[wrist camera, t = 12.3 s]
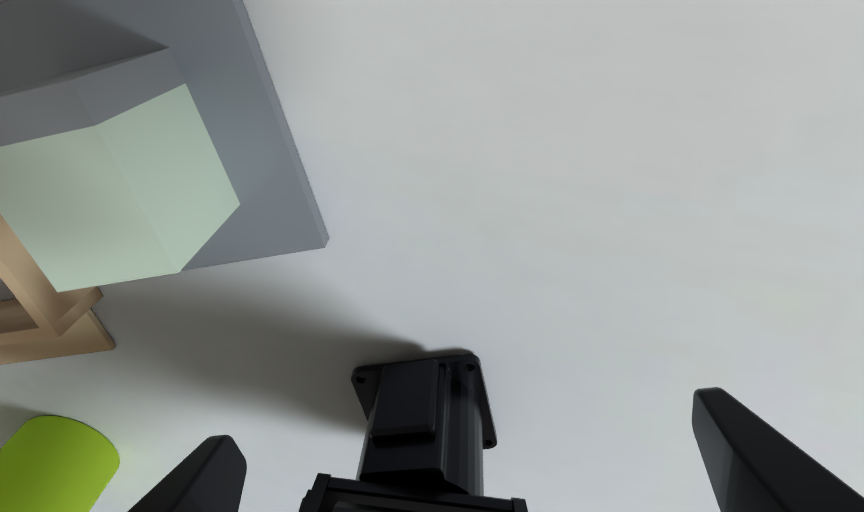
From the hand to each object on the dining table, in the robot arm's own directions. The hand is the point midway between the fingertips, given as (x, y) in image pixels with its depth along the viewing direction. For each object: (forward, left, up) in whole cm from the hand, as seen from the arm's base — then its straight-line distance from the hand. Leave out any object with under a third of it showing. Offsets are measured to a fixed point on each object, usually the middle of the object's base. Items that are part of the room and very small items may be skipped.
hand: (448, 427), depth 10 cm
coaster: (+4, +11, -12) cm, 17 cm away
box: (+4, +11, -11) cm, 16 cm away
